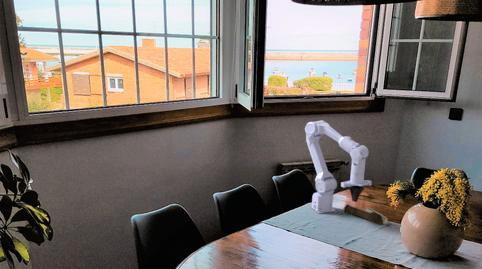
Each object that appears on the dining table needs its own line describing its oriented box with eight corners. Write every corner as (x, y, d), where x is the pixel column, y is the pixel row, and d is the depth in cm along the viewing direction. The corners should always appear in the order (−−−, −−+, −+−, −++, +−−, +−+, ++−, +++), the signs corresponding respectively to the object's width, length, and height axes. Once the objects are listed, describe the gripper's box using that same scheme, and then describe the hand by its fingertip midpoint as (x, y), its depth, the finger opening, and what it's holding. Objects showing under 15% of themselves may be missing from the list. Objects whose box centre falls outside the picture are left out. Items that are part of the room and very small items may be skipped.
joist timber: (381, 224, 162) (382, 218, 161) (365, 213, 173) (365, 208, 172) (387, 223, 162) (387, 218, 162) (370, 212, 174) (370, 207, 173)
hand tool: (343, 212, 173) (343, 203, 172) (348, 210, 176) (348, 202, 175) (378, 227, 159) (380, 217, 158) (383, 225, 161) (384, 215, 160)
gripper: (348, 176, 154) (345, 205, 157) (376, 174, 158) (373, 203, 161) (339, 171, 161) (337, 199, 164) (367, 169, 165) (364, 197, 168)
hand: (354, 201), depth 163 cm, fingers closed
